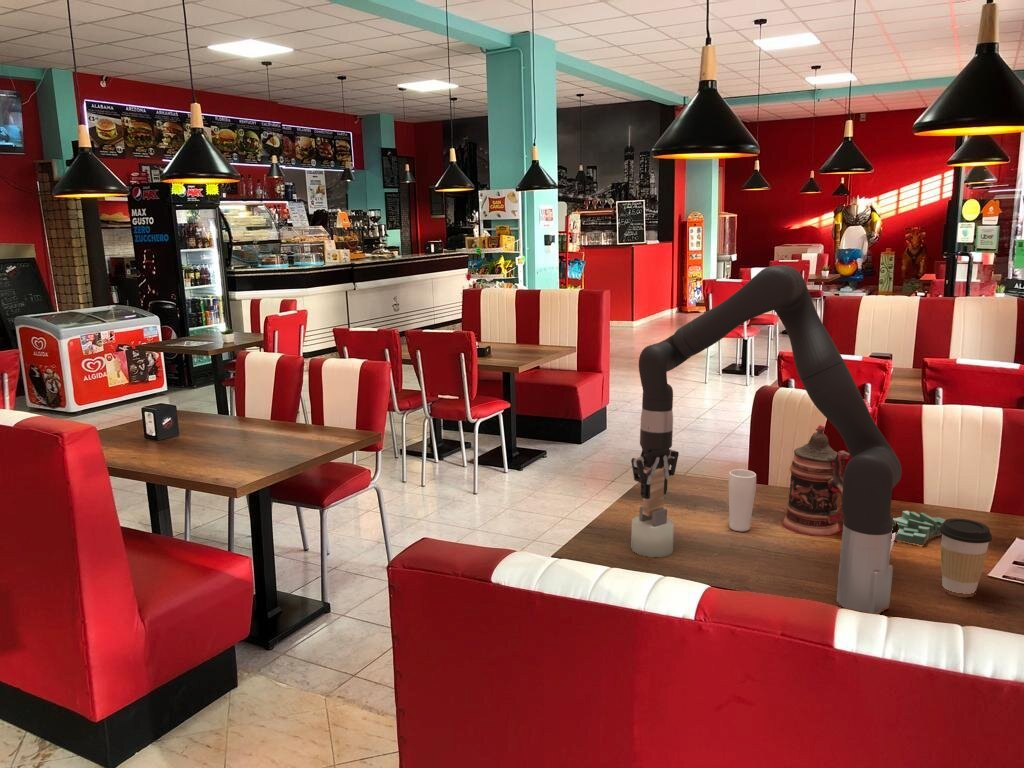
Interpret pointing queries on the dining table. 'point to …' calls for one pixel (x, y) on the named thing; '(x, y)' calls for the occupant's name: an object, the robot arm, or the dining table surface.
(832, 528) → the beer stein
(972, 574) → the coffee cup
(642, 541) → the cream plug cylinder
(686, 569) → the dining table surface
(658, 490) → the brown wooden block
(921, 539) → the money
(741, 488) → the drinking glass
